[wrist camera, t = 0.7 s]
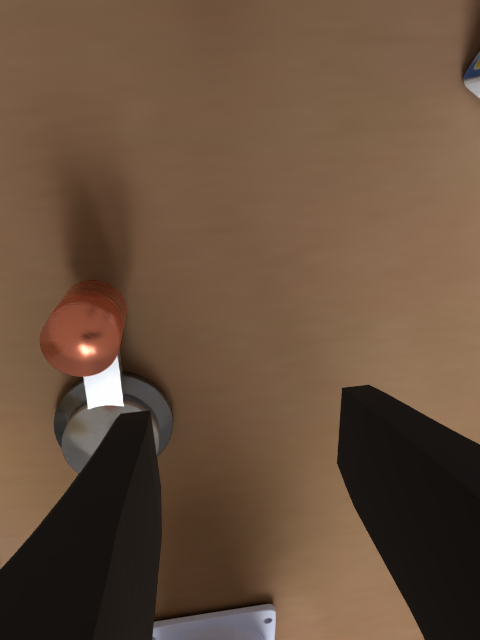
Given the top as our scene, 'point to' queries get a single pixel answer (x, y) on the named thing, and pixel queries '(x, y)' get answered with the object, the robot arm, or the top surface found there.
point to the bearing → (132, 386)
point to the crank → (91, 364)
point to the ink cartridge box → (473, 76)
